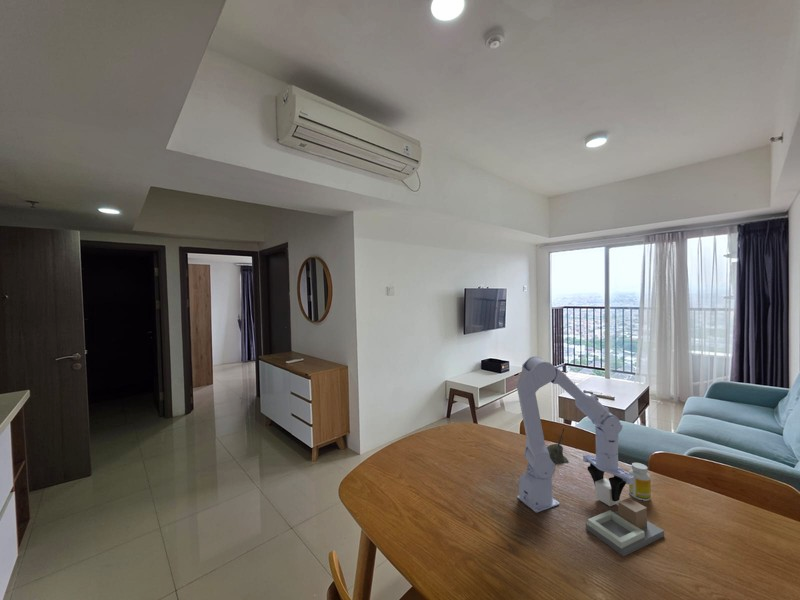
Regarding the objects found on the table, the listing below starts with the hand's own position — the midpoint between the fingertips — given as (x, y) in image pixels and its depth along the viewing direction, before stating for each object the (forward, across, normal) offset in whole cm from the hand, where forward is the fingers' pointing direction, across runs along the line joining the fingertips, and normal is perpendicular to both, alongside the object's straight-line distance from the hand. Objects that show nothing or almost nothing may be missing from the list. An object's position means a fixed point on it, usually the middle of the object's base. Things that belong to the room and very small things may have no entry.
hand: (607, 495), depth 97 cm
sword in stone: (+3, +26, -7) cm, 27 cm away
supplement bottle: (+2, -2, -12) cm, 12 cm away
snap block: (+1, 0, 0) cm, 1 cm away
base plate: (+2, -10, +8) cm, 13 cm away
